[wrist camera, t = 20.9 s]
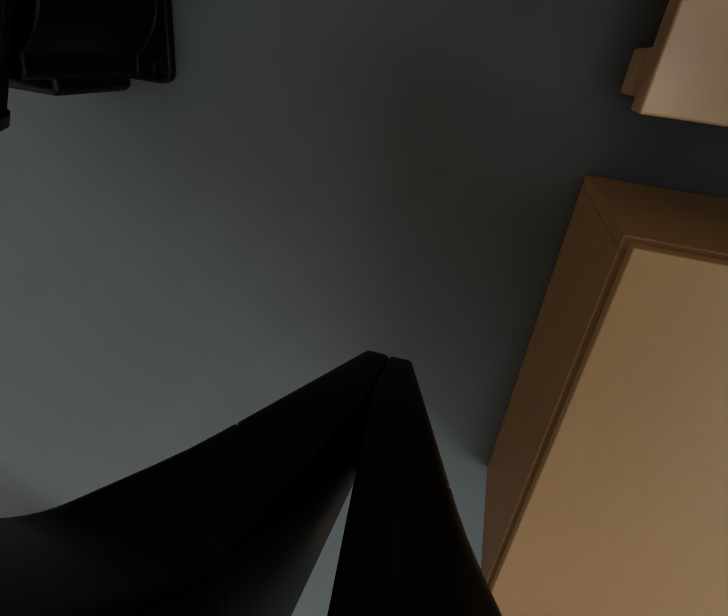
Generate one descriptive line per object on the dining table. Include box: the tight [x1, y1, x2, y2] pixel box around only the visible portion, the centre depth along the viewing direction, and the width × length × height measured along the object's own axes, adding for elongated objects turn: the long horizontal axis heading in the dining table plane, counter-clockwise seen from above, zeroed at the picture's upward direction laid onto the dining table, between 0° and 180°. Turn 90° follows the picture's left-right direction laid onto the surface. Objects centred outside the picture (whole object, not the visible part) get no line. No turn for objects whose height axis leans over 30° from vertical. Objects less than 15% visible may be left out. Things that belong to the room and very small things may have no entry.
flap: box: [490, 243, 728, 616], centre depth 15 cm, size 7×16×1 cm, turn 173°
